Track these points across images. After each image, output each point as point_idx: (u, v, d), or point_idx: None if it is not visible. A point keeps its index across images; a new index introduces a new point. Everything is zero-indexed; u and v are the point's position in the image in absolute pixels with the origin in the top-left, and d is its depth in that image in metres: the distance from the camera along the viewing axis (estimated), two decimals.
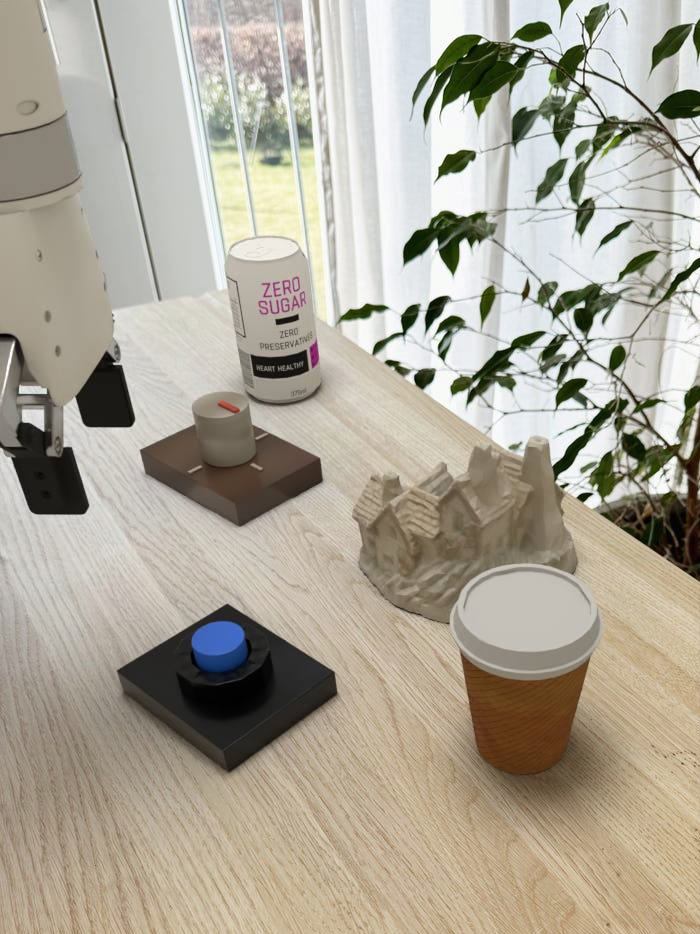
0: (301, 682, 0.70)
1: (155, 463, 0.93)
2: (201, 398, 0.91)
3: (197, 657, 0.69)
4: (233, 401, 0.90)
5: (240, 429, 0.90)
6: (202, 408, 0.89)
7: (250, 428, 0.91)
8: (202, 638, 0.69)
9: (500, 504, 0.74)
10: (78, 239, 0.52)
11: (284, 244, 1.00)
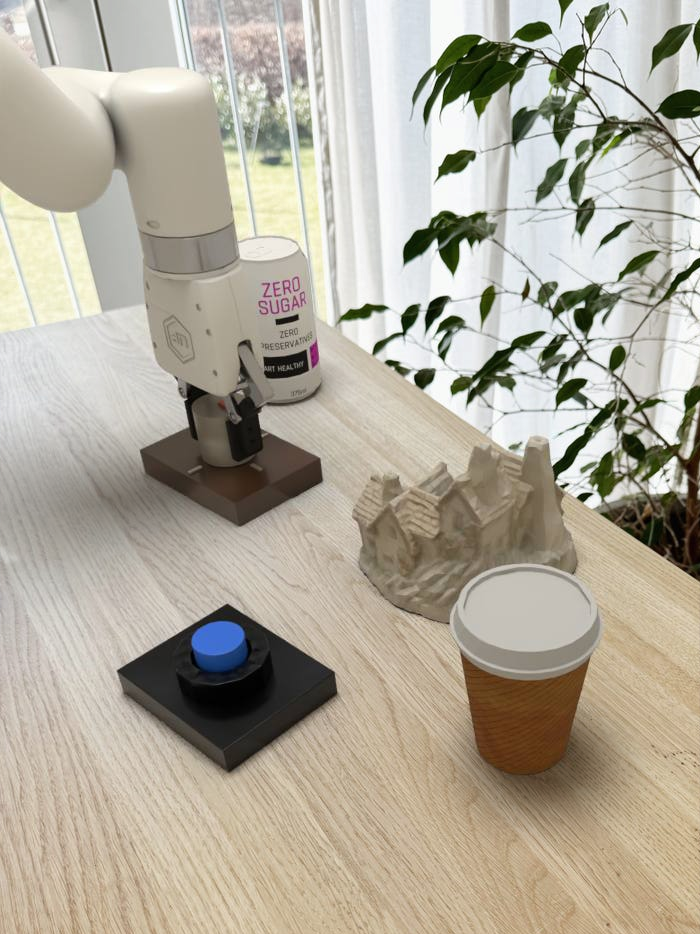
0: (301, 682, 0.70)
1: (155, 463, 0.93)
2: (201, 398, 0.91)
3: (197, 657, 0.69)
4: None
5: None
6: (202, 408, 0.89)
7: None
8: (202, 638, 0.69)
9: (500, 504, 0.74)
10: None
11: (284, 244, 1.00)
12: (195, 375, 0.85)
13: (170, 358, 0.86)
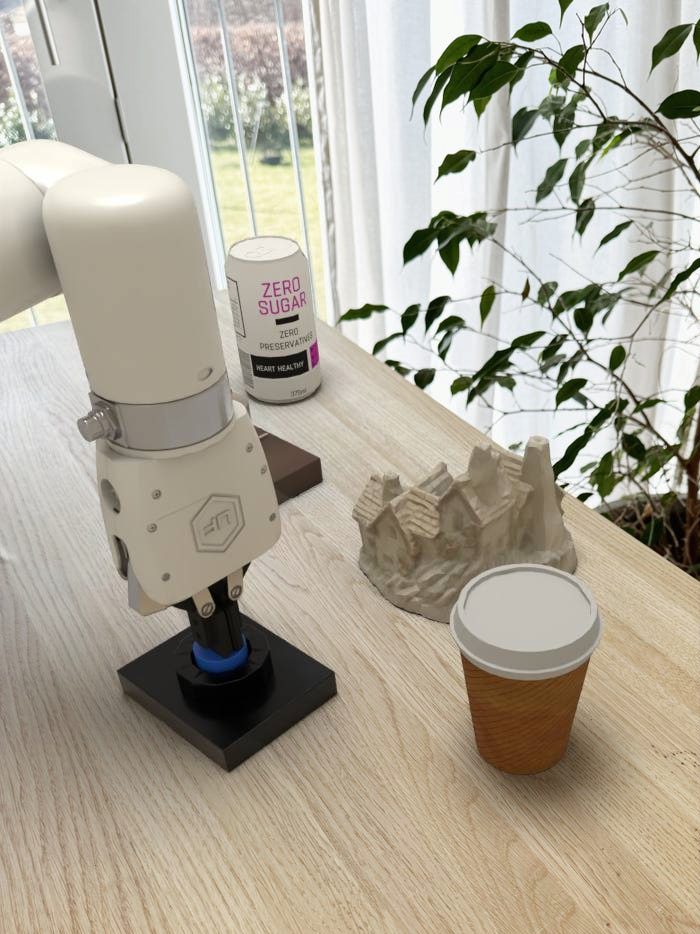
0: (301, 682, 0.70)
1: None
2: None
3: (199, 664, 0.69)
4: None
5: None
6: None
7: None
8: None
9: (500, 504, 0.74)
10: None
11: (284, 244, 1.00)
12: (243, 550, 0.63)
13: (199, 567, 0.61)
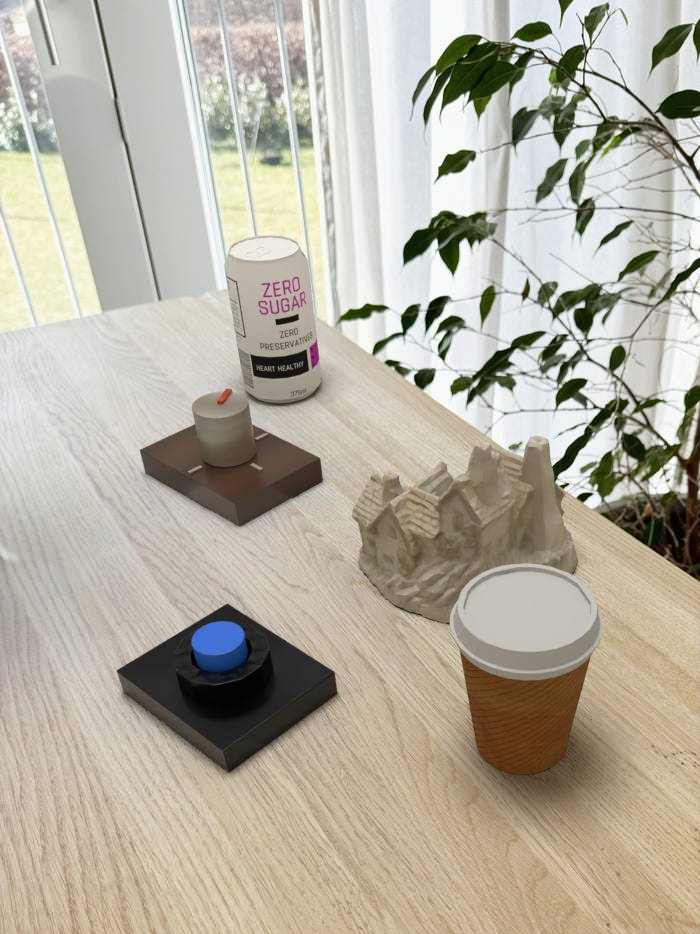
0: (301, 682, 0.70)
1: (155, 463, 0.93)
2: (216, 415, 0.88)
3: (197, 657, 0.69)
4: (210, 400, 0.90)
5: None
6: (234, 408, 0.89)
7: None
8: (202, 638, 0.69)
9: (500, 504, 0.74)
10: None
11: (284, 244, 1.00)
12: None
13: None
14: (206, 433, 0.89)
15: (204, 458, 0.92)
